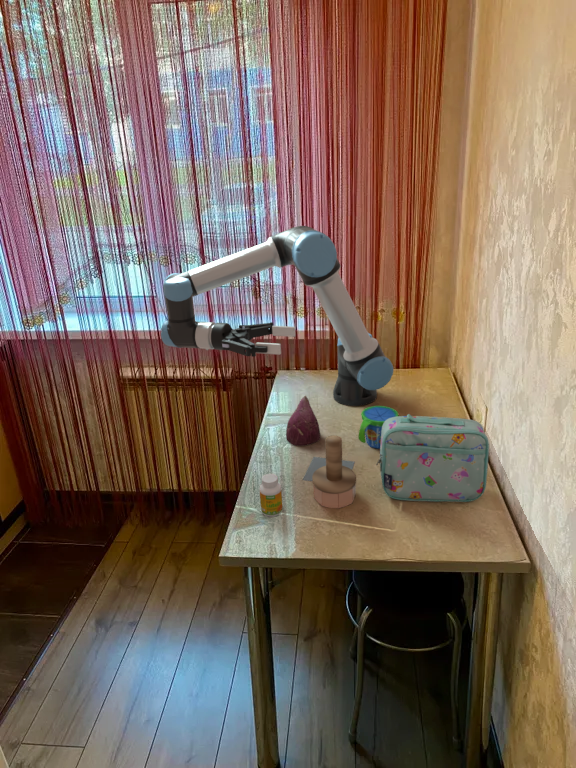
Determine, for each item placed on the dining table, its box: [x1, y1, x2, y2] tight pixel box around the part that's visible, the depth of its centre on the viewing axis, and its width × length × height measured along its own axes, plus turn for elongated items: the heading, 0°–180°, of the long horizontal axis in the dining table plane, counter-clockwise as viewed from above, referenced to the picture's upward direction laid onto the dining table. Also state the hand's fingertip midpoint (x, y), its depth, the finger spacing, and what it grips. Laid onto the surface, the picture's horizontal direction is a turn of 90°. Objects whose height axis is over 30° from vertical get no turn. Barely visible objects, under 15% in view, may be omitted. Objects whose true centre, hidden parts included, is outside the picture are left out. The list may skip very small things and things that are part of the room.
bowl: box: [313, 483, 357, 509], centre depth 142 cm, size 10×10×5 cm
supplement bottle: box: [259, 472, 284, 518], centre depth 137 cm, size 5×5×10 cm
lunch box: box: [376, 413, 490, 503], centre depth 138 cm, size 27×10×21 cm, turn 82°
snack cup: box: [358, 405, 400, 450], centre depth 164 cm, size 16×10×10 cm
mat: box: [302, 456, 356, 482], centre depth 153 cm, size 12×12×1 cm
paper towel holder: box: [312, 435, 357, 494], centre depth 138 cm, size 11×11×12 cm
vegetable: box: [285, 395, 321, 447], centre depth 170 cm, size 10×10×15 cm
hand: (288, 340), depth 149 cm, fingers open, 13 cm apart
